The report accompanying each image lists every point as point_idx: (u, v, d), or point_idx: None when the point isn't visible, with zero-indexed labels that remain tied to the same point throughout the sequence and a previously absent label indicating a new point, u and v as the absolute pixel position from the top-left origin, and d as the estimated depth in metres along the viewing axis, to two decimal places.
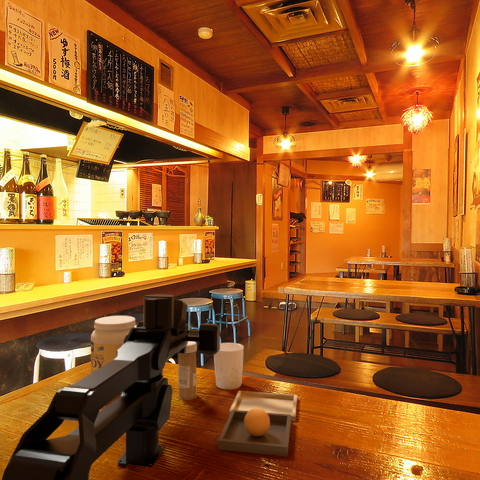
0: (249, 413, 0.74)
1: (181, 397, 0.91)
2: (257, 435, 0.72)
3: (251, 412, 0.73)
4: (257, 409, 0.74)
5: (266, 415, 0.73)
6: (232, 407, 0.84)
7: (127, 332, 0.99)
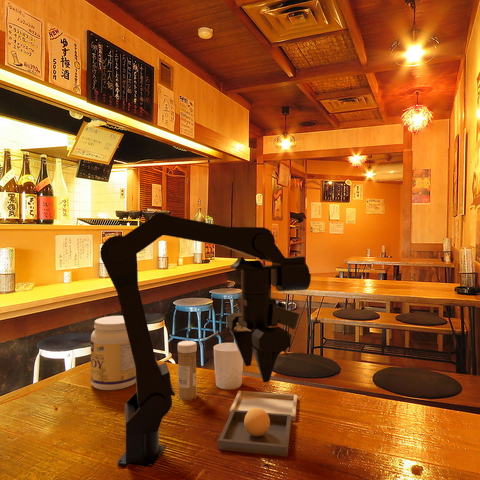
0: (249, 413, 0.74)
1: (181, 397, 0.91)
2: (257, 435, 0.72)
3: (251, 412, 0.73)
4: (257, 409, 0.74)
5: (266, 415, 0.73)
6: (232, 407, 0.84)
7: None
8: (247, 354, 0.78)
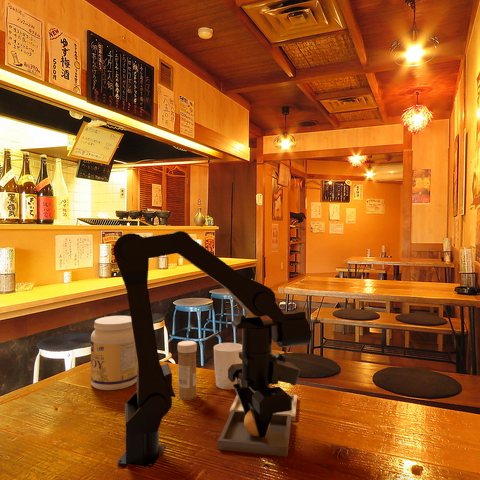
0: (249, 413, 0.74)
1: (181, 397, 0.91)
2: (257, 435, 0.72)
3: None
4: None
5: None
6: (232, 407, 0.84)
7: (127, 332, 0.99)
8: None
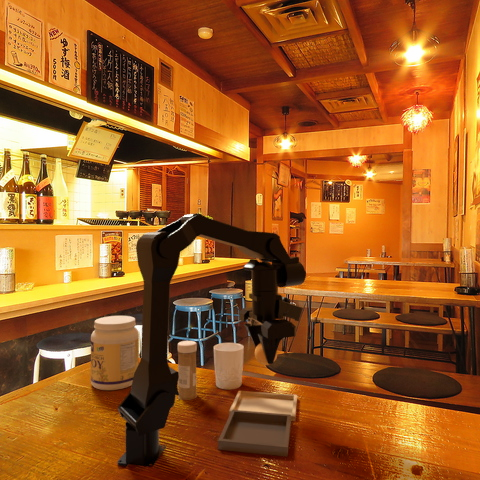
0: (259, 345, 0.85)
1: (181, 397, 0.91)
2: (266, 363, 0.83)
3: None
4: None
5: None
6: (232, 407, 0.84)
7: (127, 332, 0.99)
8: None
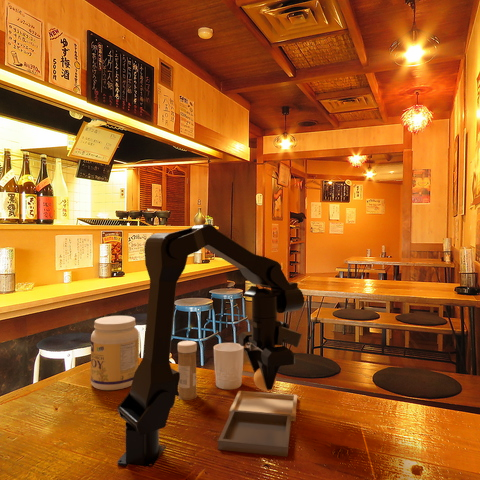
0: (258, 370, 0.86)
1: (181, 397, 0.91)
2: (265, 389, 0.85)
3: None
4: None
5: None
6: (232, 407, 0.84)
7: (127, 332, 0.99)
8: None
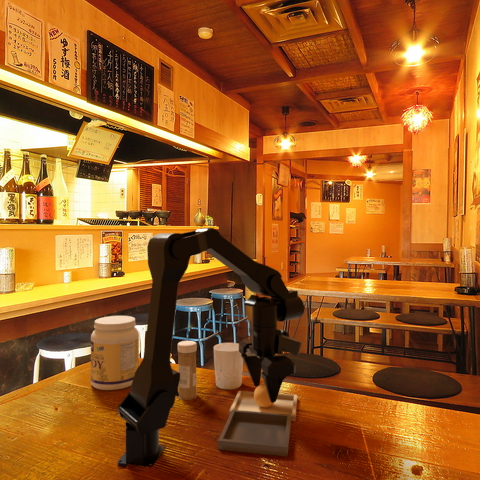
0: (258, 388, 0.86)
1: (181, 397, 0.91)
2: (265, 406, 0.85)
3: (260, 387, 0.86)
4: None
5: None
6: (232, 407, 0.84)
7: (127, 332, 0.99)
8: (256, 376, 0.91)
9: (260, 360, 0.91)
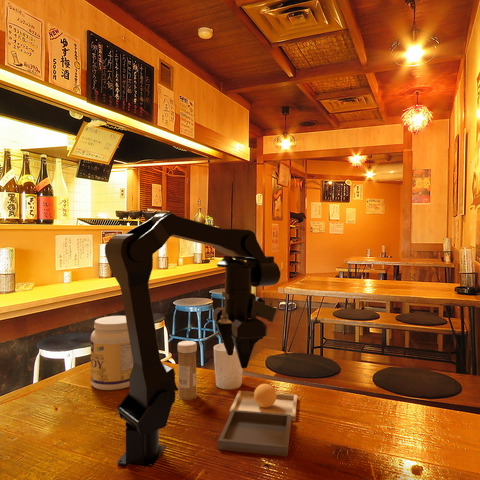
0: (258, 388, 0.86)
1: (181, 397, 0.91)
2: (265, 406, 0.85)
3: (260, 387, 0.86)
4: (265, 384, 0.86)
5: (273, 389, 0.86)
6: (232, 407, 0.84)
7: (127, 332, 0.99)
8: (229, 344, 0.86)
9: None
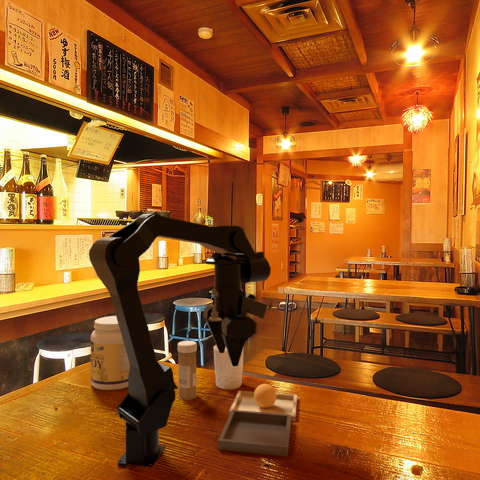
0: (258, 388, 0.86)
1: (181, 397, 0.91)
2: (265, 406, 0.85)
3: (260, 387, 0.86)
4: (265, 385, 0.86)
5: (273, 390, 0.86)
6: (232, 407, 0.84)
7: None
8: (221, 342, 0.85)
9: None
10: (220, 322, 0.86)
